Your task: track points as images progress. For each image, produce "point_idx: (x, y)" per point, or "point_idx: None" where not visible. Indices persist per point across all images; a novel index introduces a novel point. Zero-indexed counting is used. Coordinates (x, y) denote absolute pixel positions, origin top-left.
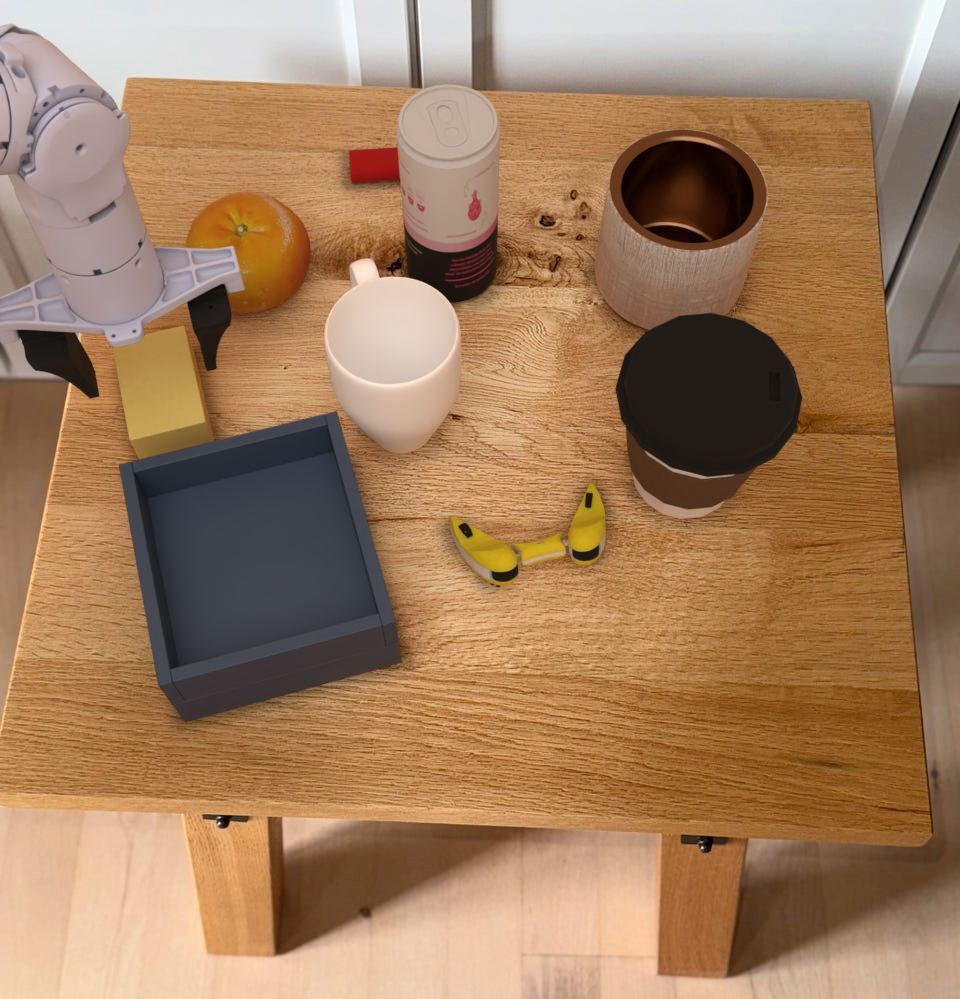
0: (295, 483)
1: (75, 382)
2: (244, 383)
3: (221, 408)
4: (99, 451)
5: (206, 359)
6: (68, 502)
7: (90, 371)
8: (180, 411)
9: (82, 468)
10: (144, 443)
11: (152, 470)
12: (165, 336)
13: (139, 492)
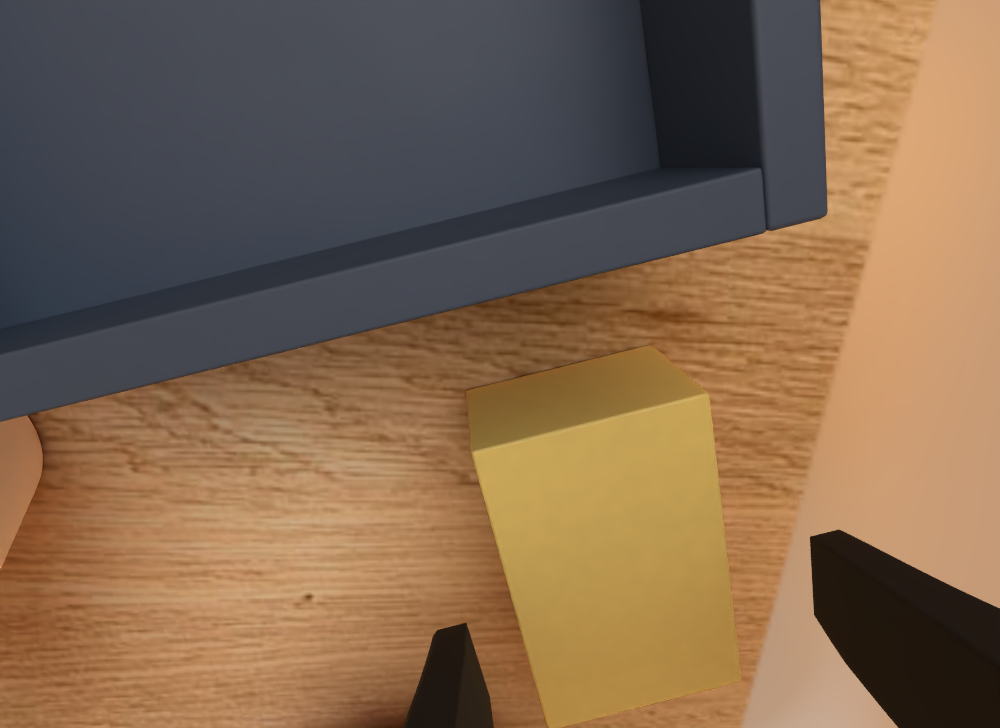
0: (110, 202)
1: (976, 609)
2: (406, 559)
3: (458, 496)
4: (753, 387)
5: (448, 691)
6: (839, 246)
7: (864, 632)
8: (552, 487)
9: (797, 342)
10: (658, 388)
11: (665, 187)
12: (599, 700)
13: (724, 83)
